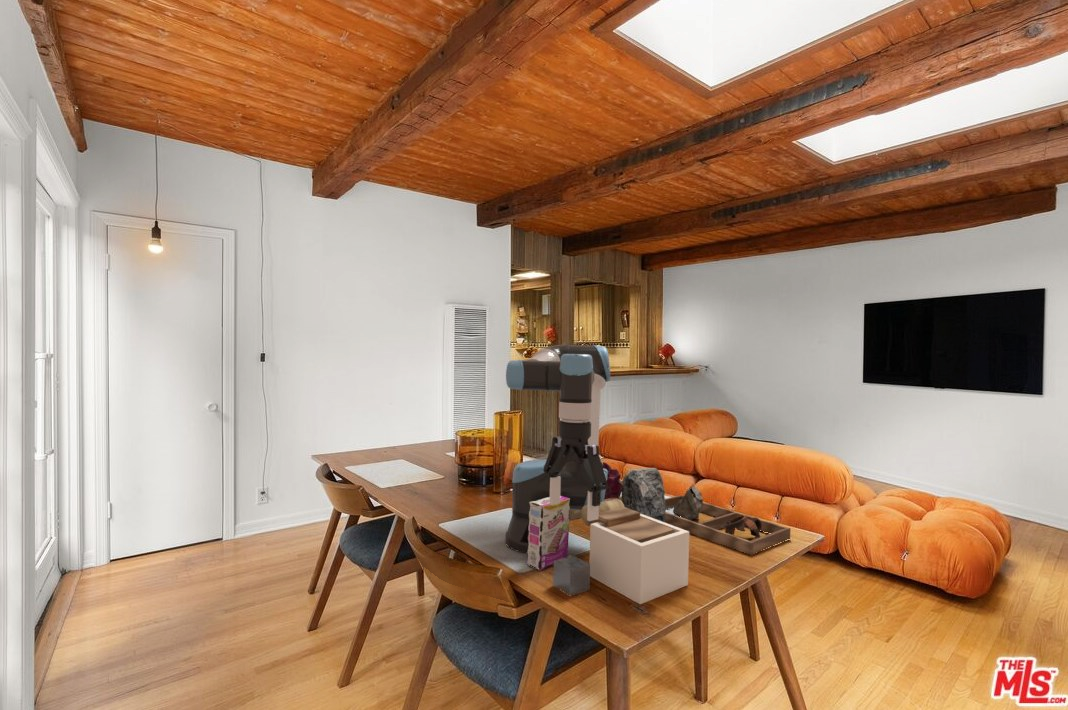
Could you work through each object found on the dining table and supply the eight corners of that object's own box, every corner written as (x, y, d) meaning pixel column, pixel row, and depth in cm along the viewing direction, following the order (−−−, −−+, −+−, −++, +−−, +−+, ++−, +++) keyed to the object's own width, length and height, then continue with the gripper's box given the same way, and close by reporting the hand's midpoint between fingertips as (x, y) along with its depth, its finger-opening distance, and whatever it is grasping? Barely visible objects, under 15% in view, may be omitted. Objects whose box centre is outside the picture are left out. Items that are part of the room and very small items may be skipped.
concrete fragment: (680, 507, 179) (681, 477, 179) (712, 526, 160) (713, 492, 160) (664, 508, 178) (665, 477, 177) (694, 528, 159) (696, 493, 159)
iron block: (553, 586, 118) (553, 561, 118) (572, 580, 121) (573, 555, 121) (569, 596, 113) (570, 570, 113) (589, 589, 117) (590, 564, 116)
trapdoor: (577, 523, 130) (578, 503, 130) (613, 514, 138) (614, 496, 137) (636, 549, 114) (637, 527, 113) (673, 537, 121) (674, 517, 121)
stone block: (638, 546, 143) (640, 476, 143) (614, 536, 150) (615, 470, 150) (674, 531, 155) (676, 467, 155) (650, 523, 162) (652, 462, 162)
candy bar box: (540, 572, 125) (542, 506, 125) (526, 565, 129) (527, 501, 128) (569, 559, 133) (570, 497, 133) (555, 553, 137) (556, 493, 136)
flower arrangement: (538, 495, 190) (539, 455, 190) (570, 485, 205) (571, 448, 205) (608, 514, 169) (609, 470, 169) (638, 502, 184) (639, 461, 184)
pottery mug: (752, 551, 142) (737, 523, 144) (728, 554, 150) (714, 528, 152) (776, 533, 148) (761, 507, 151) (752, 537, 156) (738, 512, 158)
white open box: (589, 575, 124) (590, 524, 123) (635, 560, 133) (637, 512, 133) (640, 604, 110) (641, 546, 110) (688, 584, 120) (689, 531, 120)
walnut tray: (640, 514, 170) (641, 504, 170) (680, 504, 183) (680, 495, 183) (751, 555, 138) (751, 543, 138) (790, 540, 150) (790, 528, 150)
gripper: (625, 426, 109) (623, 524, 109) (554, 413, 129) (552, 495, 129) (600, 428, 104) (598, 530, 104) (530, 414, 125) (528, 500, 125)
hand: (572, 511), depth 117 cm, fingers open, 13 cm apart
